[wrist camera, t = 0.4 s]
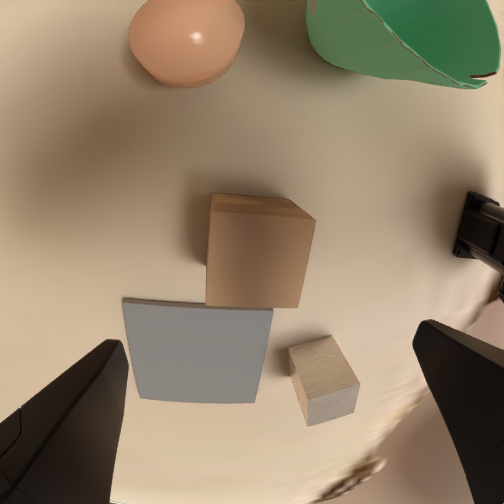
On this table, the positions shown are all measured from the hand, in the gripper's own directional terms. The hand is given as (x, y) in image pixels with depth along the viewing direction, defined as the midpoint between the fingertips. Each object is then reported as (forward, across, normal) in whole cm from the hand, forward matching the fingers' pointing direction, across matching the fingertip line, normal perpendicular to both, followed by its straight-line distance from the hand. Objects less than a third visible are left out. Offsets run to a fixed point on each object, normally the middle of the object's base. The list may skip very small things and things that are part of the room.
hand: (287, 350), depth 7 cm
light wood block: (+12, -6, +12) cm, 18 cm away
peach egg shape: (+12, +4, -12) cm, 17 cm away
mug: (+12, -6, -16) cm, 21 cm away
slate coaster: (+12, +4, +11) cm, 17 cm away
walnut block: (+12, 0, +1) cm, 12 cm away
